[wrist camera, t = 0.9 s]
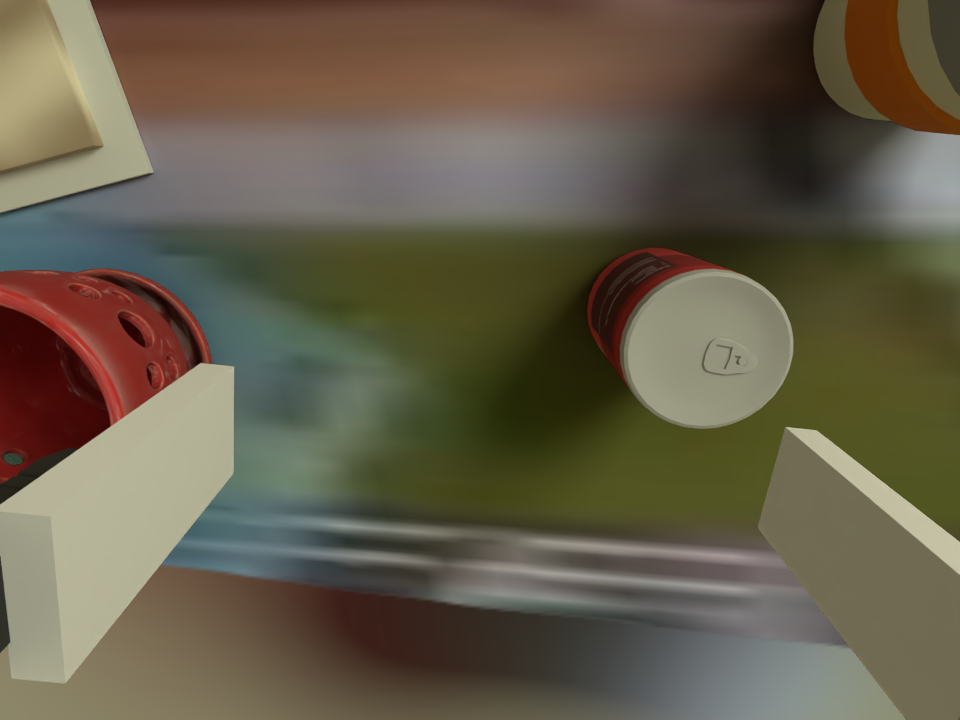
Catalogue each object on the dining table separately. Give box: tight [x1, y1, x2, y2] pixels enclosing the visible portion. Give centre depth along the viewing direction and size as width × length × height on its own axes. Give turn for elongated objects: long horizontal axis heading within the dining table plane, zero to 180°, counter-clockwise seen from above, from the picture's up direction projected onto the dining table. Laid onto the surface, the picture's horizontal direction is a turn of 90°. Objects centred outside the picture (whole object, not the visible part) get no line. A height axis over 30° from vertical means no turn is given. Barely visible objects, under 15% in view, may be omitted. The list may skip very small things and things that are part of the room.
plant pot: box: [0, 269, 212, 484], centre depth 35 cm, size 13×13×12 cm
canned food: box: [587, 247, 793, 429], centre depth 35 cm, size 8×8×11 cm
